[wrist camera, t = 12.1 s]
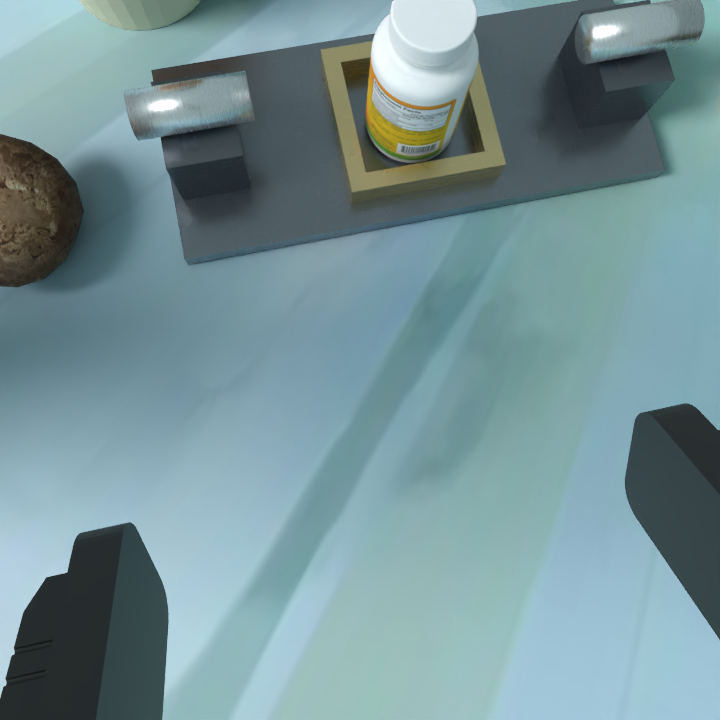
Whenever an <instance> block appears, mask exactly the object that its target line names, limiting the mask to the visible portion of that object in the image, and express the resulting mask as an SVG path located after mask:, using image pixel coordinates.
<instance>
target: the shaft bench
mask: <svg viewBox="0 0 720 720" xmlns="http://www.w3.org/2000/svg"><path fill="white" fill-rule="evenodd" d="M704 20H705V15H704V8H703V5H702V3H701V1H700V0H670V1H664V2H658V3H652V4H651V2H650V0H646V1H640V2H634V3H628V4H622V5H616V6H615V4H614V1H613V0H578V1H572V2H566V3H560V4H554V5H548V6H541V7H535V8H529V9H523V10H517V11H511V12H505V13H499V14H492V15H486V16H480V17H477V23H476V27H475V30H474V33H475V36H476V39H477V43H478V50H479V56H478V64H477V68H476V72H475V75H474V78H473V81H472V84H471V86H470V89H469V92H468V95H467V98H466V100H465V103H464V106H463V109H462V112H461V115H460V118H459V120H458V123H457V126H456V129H455V132H454V135H453V137H452V139H451V141H450V143H449V144H448V146H447V147H446V148H445V149H444V150H443V151H442V152H441V153H440V154H439V155H437V156H436V157H434V158H432V159H430V160H427V161H424V162H419V163H405V162H400V161H397V160H394V159H391V158H389V157H388V156H386V155H385V154H383V153H382V152H381V151H380V150H379V149H378V148H377V147H376V146H375V145H374V143H373V142H372V140H371V139H370V136H369V134H368V131H367V127H366V103H367V92H368V79H369V69H370V57H371V48H372V42H373V38H374V35H375V34H370V35H364V36H358V37H352V38H346V39H340V40H334V41H327V42H321V43H315V44H309V45H303V46H297V47H291V48H285V49H278V50H272V51H266V52H260V53H254V54H248V55H242V56H236V57H230V58H223V59H217V60H211V61H205V62H199V63H193V64H187V65H181V66H175V67H168V68H162V69H156V70H152V75H153V81H154V82H151V85H152V86H150V87H144V88H138V89H132V90H126V91H125V93H124V97H125V104H126V109H127V113H128V117H129V121H130V124H131V127H132V129H133V132H134V134H135V136H136V138H137V139H138V140H139V141H140V140H146V139H152V138H158V137H161V142H162V148H163V153H164V159H165V165H166V169H167V171H168V173H169V175H170V178H171V184H172V189H173V195H174V201H175V207H176V212H177V218H178V224H179V229H180V235H181V241H182V247H183V252H184V258H185V260H186V262H187V263H188V265H189V264H195V263H200V262H205V261H211V260H216V259H221V258H227V257H232V256H237V255H243V254H248V253H254V252H259V251H264V250H270V249H275V248H280V247H286V246H291V245H296V244H302V243H307V242H312V241H318V240H323V239H328V238H334V237H339V236H345V235H350V234H355V233H361V232H366V231H371V230H377V229H382V228H387V227H393V226H398V225H403V224H409V223H414V222H419V221H425V220H430V219H436V218H441V217H446V216H452V215H457V214H462V213H468V212H473V211H478V210H484V209H489V208H494V207H500V206H505V205H510V204H516V203H521V202H527V201H532V200H537V199H543V198H548V197H553V196H559V195H564V194H569V193H575V192H580V191H585V190H591V189H596V188H601V187H607V186H612V185H618V184H623V183H628V182H634V181H639V180H644V179H650V178H655V177H658V176H659V175H660V174H661V173H662V172H663V171H664V170H665V168H664V164H663V161H662V158H661V155H660V151H659V148H658V145H657V141H656V138H655V135H654V132H653V128H652V125H651V122H650V119H649V115H648V112H647V111H648V110H649V109H650V108H651V107H652V106H653V104H654V103H655V102H656V101H657V100H658V99H659V97H660V96H661V95H662V94H663V93H664V92H665V91H666V89H667V88H668V87H669V86H670V85H671V84H672V82H673V81H674V80H675V78H674V75H673V72H672V69H671V66H670V63H669V59H668V56H667V53H666V50H671V49H677V48H683V47H688V46H692V45H694V44H695V43H696V42H697V41H698V40H699V38H700V36H701V34H702V31H703V27H704Z"/></svg>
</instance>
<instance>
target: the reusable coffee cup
mask: <svg viewBox="0 0 720 720" xmlns="http://www.w3.org/2000/svg"><path fill="white" fill-rule="evenodd" d="M79 1H80V2H81V4H82V5H83V6H84V7H85V8H86V9H87V11H88V12H90V13H91V14H92V15H94V16H95V17H96V18H98V19H99V20H101V21H103V22H105V23H107V24H109V25H111V26H115V27H118V28H122V29H128V30H138V31H139V30H153V29H157V28H161V27H164V26H168V25H170V24H172V23H174V22H176V21H179V20H180V19H182V18H183V17H184V16H186V15H187V14H189V13H190V12H191V11H192V10H193V9H194V8H195V7H196V6H197V5H198V4H199V3H200V1H201V0H79Z"/></svg>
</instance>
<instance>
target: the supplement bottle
mask: <svg viewBox="0 0 720 720" xmlns="http://www.w3.org/2000/svg"><path fill="white" fill-rule="evenodd" d="M476 23H477V9H476V5H475V2H474V0H393V2H392V5H391V11H390V14H389V15H388V16H387V17H386V18H385V19H384V20H383V21H382V22H381V24H380V25H379V27H378V28H377V30H376V33H375V35H374V38H373V42H372V48H371V57H370V69H369V79H368V92H367V103H366V127H367V131H368V134H369V136H370V139H371V140H372V142H373V143H374V145H375V146H376V147H377V148H378V149H379V150H380V151H381V152H382V153H383V154H385V155H386V156H388V157H389V158H391V159H394V160H397V161H400V162H405V163H419V162H424V161H427V160H430V159H432V158H434V157H436V156H437V155H439V154H440V153H441V152H442V151H443V150H444V149H445V148H446V147H447V146H448V144H449V143H450V141H451V139H452V137H453V135H454V132H455V129H456V126H457V123H458V120H459V118H460V115H461V112H462V109H463V106H464V103H465V100H466V98H467V95H468V92H469V89H470V86H471V84H472V81H473V78H474V75H475V72H476V68H477V64H478V56H479V50H478V43H477V39H476V36H475V33H474V30H475V27H476Z"/></svg>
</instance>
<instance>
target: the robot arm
mask: <svg viewBox="0 0 720 720" xmlns="http://www.w3.org/2000/svg"><path fill="white" fill-rule="evenodd" d="M625 489H626V494H627V498H628V501H629V504H630V507H631V509H632V511H633V513H634V515H635V516H636V518H637V520H638V521H639V523H640V524H641V525H642V527H643V528H644V530H645V531H646V533H647V534H648V536H649V537H650V539H651V540H652V541H653V543H654V544H655V546H656V547H657V549H658V550H659V552H660V553H661V555H662V556H663V558H664V559H665V560H666V562H667V563H668V565H669V566H670V568H671V569H672V571H673V572H674V574H675V575H676V576H677V578H678V579H679V581H680V582H681V584H682V585H683V587H684V588H685V590H686V591H687V593H688V594H689V595H690V597H691V598H692V600H693V601H694V603H695V604H696V606H697V607H698V609H699V610H700V611H701V613H702V614H703V616H704V617H705V619H706V620H707V622H708V623H709V625H710V626H711V627H712V629H713V630H714V632H715V633H716V635H717V636H718V638H719V639H720V430H717V429H716V428H715V427H714V426H713V425H712V424H711V423H710V422H709V421H708V419H707V418H706V417H705V416H704V415H703V414H702V413H701V412H700V411H699V410H698V409H697V408H696V407H694V406H693V405H690V404H686V403H685V404H680V405H676V406H671V407H666V408H662V409H657V410H653V411H648V412H643V413H640V414H639V415H638V416H637V417H636V419H635V423H634V429H633V435H632V441H631V446H630V452H629V458H628V464H627V470H626V476H625ZM167 636H168V605H167V598H166V593H165V589H164V586H163V583H162V581H161V578H160V576H159V574H158V572H157V570H156V568H155V566H154V564H153V562H152V560H151V558H150V556H149V553H148V551H147V549H146V547H145V545H144V543H143V541H142V539H141V537H140V535H139V533H138V531H137V529H136V527H135V526H134V524H132V523H130V522H129V523H125V524H120V525H115V526H111V527H106V528H102V529H97V530H92V531H88V532H83V533H80V534H78V536H77V537H76V539H75V541H74V545H73V549H72V554H71V559H70V563H69V568H68V572H67V573H64V574H60V575H55V576H51V577H47V578H46V579H45V581H44V582H43V584H42V585H41V587H40V588H39V590H38V591H37V593H36V594H35V596H34V597H33V599H32V600H31V602H30V603H29V605H28V606H27V608H26V609H25V611H24V612H23V616H22V620H21V624H20V627H19V631H18V635H17V639H16V642H15V646H14V650H15V654H14V655H12V657H11V661H10V665H9V668H8V672H7V676H6V681H7V684H6V686H4V687H3V691H2V694H1V698H0V720H162V714H163V699H164V683H165V667H166V652H167Z"/></svg>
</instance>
